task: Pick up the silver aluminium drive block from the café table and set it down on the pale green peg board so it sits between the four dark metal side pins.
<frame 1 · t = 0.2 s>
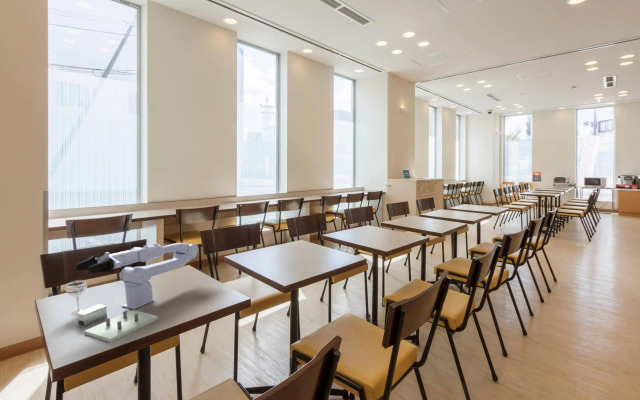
hand: (82, 268, 118), 21 cm above the table, tool horizontal, fingers open, 7 cm apart
pale green peg board: (122, 326, 119), on the table
drive: (93, 322, 123), on the table
wineglass: (78, 312, 131), on the table
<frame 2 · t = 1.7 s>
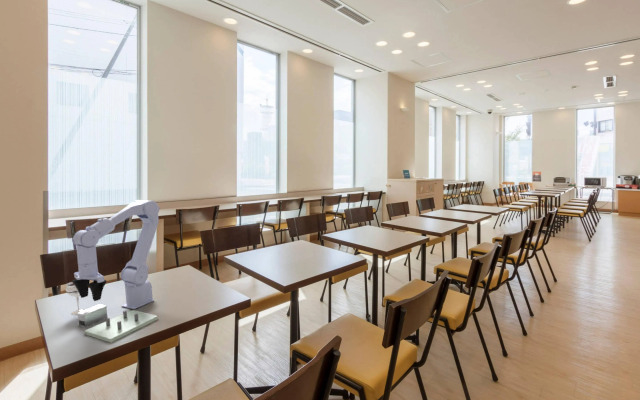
hand: (90, 298, 122), 9 cm above the table, tool pointing down, fingers open, 7 cm apart
nothing on the table moved.
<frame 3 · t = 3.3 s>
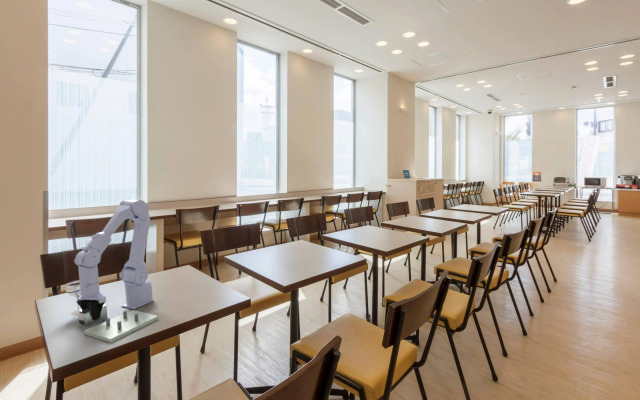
hand: (92, 318, 123), 1 cm above the table, tool pointing down, fingers closed on drive, 4 cm apart
drive: (93, 321, 123), on the table, touching gripper
everything else where it was.
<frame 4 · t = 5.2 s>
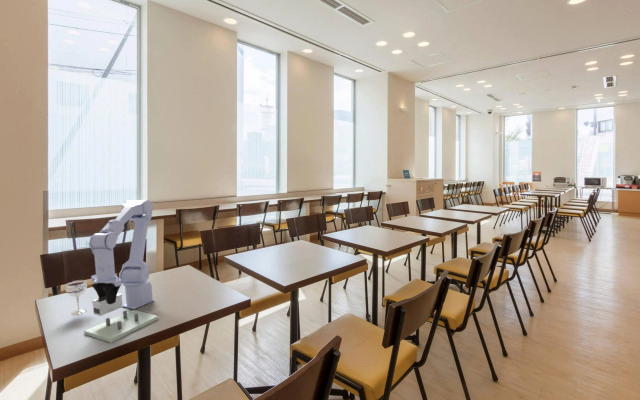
hand: (108, 302, 119), 8 cm above the table, tool pointing down, fingers closed on drive, 4 cm apart
drive: (108, 310, 120), point 5 cm above the table, touching gripper
everything else where it was.
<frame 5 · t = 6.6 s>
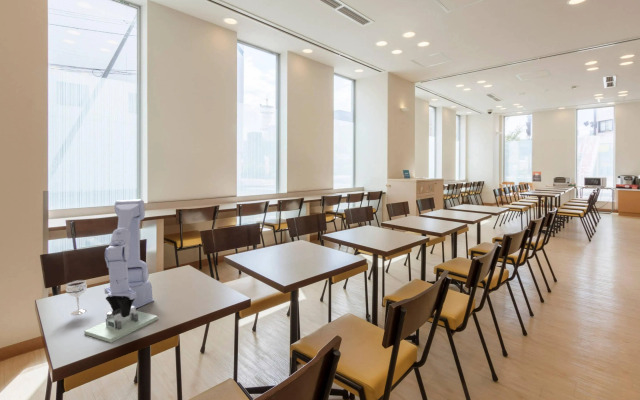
hand: (121, 315, 118), 4 cm above the table, tool pointing down, fingers closed on drive, 4 cm apart
drive: (122, 323, 118), point 1 cm above the table, touching gripper, pale green peg board
everything else where it was.
when the fingers open (4 cm above the table, at t = 7.2 s): drive stays where it is, resting on pale green peg board.
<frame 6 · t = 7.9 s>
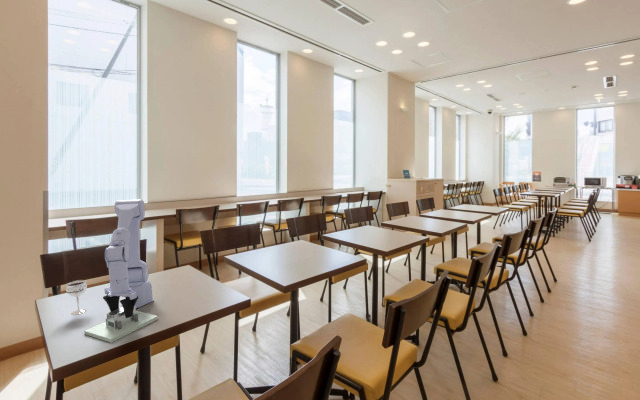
hand: (122, 315, 118), 4 cm above the table, tool pointing down, fingers open, 7 cm apart
drive: (122, 323, 118), point 1 cm above the table, touching pale green peg board
everything else where it was.
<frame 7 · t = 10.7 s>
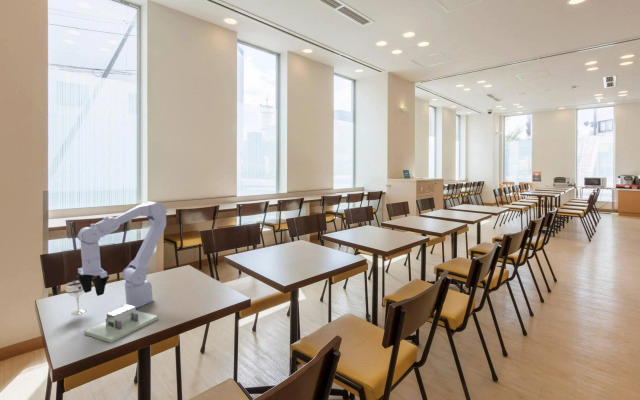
hand: (94, 293, 126), 9 cm above the table, tool pointing down, fingers open, 7 cm apart
nothing on the table moved.
at the end: drive 0.1 cm off-centre on the pale green peg board, point 1.2 cm above the pale green peg board's base; drive tilted 0°; the gripper is holding nothing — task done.
